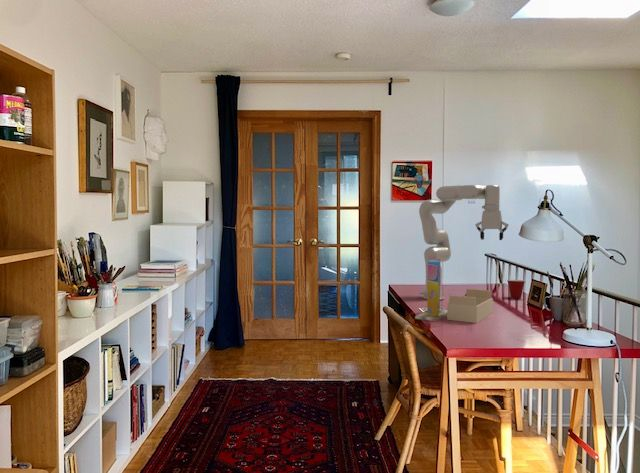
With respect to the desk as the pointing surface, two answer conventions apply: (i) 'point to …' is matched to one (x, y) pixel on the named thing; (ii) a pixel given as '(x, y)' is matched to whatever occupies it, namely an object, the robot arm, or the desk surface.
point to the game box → (433, 287)
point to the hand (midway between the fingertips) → (491, 239)
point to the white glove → (432, 318)
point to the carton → (470, 306)
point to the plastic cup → (516, 288)
